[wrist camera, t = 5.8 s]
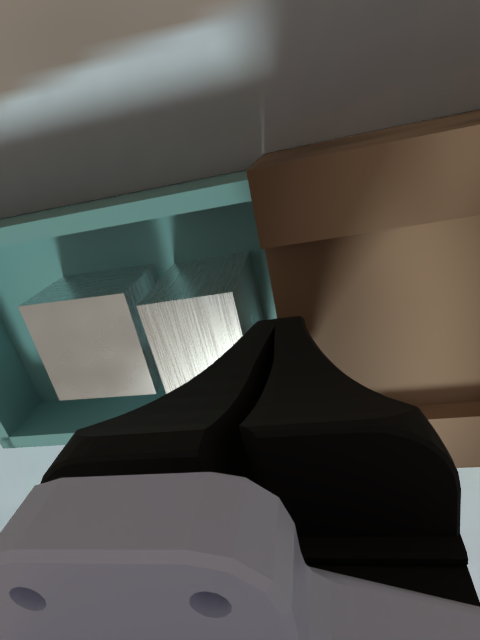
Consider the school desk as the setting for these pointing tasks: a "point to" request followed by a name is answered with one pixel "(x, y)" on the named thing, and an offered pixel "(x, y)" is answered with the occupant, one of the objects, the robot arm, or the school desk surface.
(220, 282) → the grey square block
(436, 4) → the school desk surface
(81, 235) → the tray
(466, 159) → the channel block
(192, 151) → the school desk surface
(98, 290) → the light grey block
